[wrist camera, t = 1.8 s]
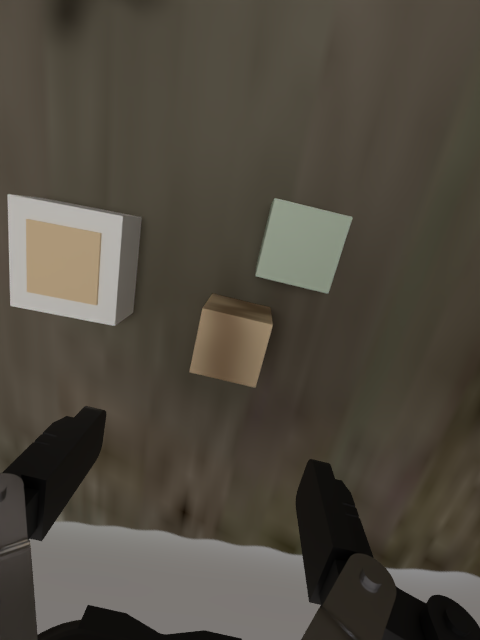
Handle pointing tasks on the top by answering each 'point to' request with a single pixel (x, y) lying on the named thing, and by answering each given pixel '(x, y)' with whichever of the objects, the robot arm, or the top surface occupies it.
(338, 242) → the sage block
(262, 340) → the oak block
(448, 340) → the top surface
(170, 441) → the top surface
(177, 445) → the top surface
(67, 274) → the white base
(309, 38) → the top surface
